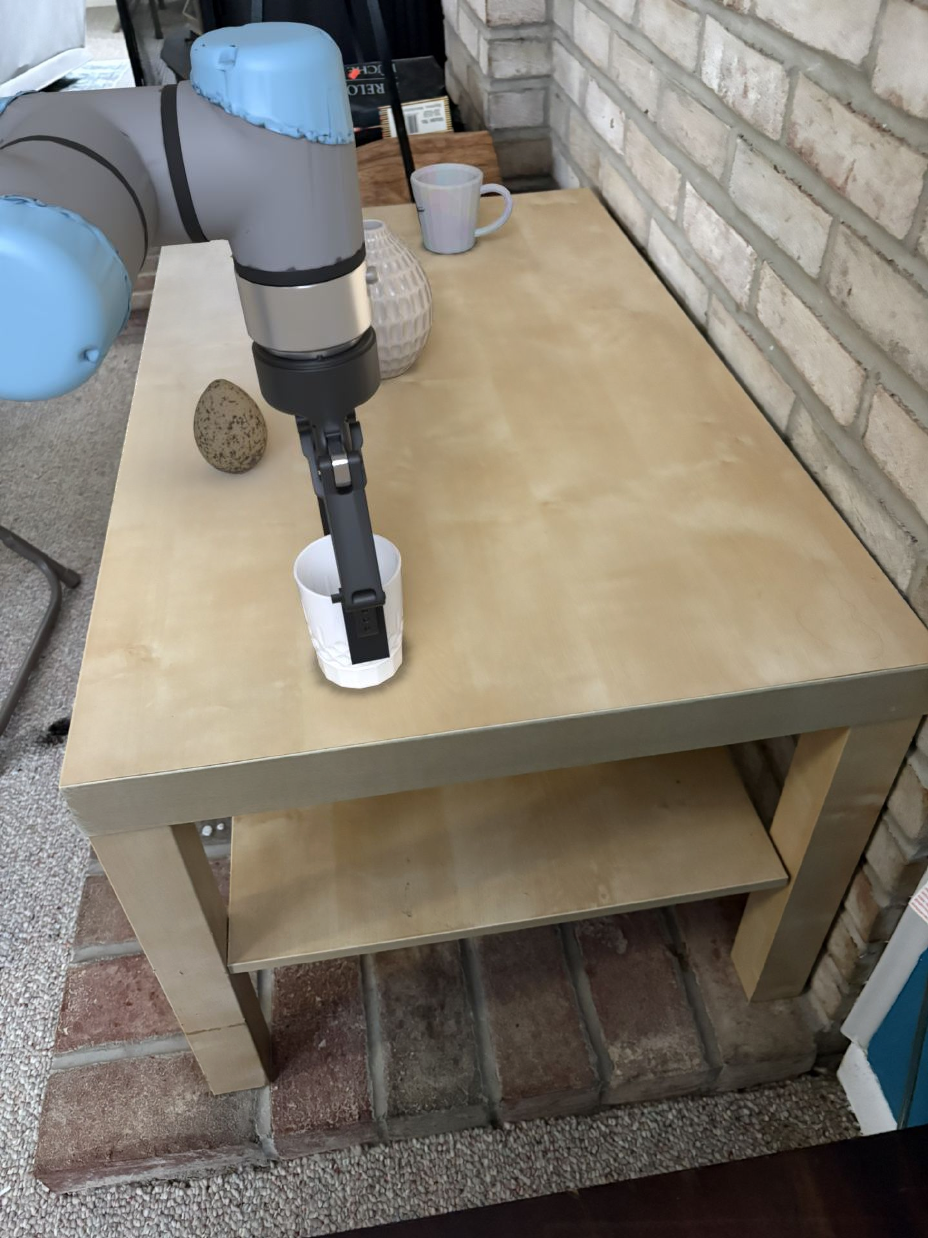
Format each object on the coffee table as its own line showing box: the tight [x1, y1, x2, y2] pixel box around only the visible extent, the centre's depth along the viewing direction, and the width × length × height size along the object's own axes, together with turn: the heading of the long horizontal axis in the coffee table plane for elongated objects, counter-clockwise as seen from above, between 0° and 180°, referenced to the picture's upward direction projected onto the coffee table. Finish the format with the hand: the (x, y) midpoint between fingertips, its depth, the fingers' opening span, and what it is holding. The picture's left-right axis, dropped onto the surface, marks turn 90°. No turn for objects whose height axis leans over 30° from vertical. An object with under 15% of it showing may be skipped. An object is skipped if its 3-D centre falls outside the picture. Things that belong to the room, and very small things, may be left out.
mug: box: [409, 162, 515, 255], centre depth 134 cm, size 10×15×10 cm
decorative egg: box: [192, 378, 268, 475], centre depth 92 cm, size 7×7×10 cm
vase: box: [363, 218, 434, 380], centre depth 105 cm, size 13×13×17 cm
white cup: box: [292, 533, 404, 690], centre depth 71 cm, size 8×8×10 cm
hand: (355, 596), depth 70 cm, fingers open, 13 cm apart
